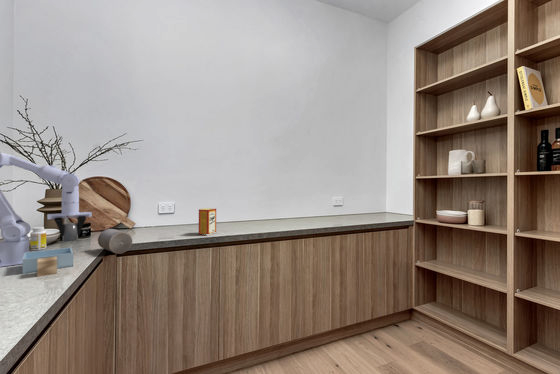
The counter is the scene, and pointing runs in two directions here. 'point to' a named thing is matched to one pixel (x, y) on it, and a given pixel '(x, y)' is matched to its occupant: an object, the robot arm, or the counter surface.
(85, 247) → the counter surface
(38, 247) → the supplement bottle
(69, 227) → the grey cylinder
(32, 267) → the tote
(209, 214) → the baking soda box
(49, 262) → the oak block
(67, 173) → the robot arm
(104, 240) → the pillar candle
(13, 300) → the counter surface
